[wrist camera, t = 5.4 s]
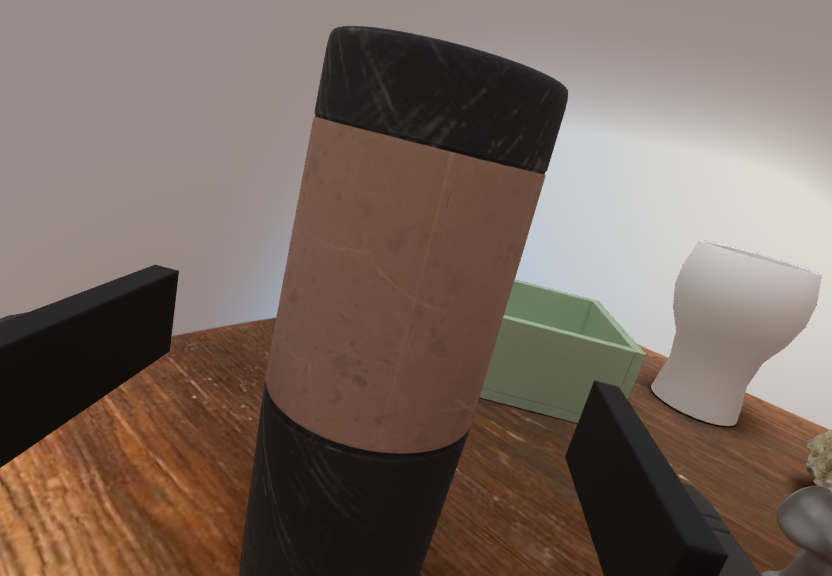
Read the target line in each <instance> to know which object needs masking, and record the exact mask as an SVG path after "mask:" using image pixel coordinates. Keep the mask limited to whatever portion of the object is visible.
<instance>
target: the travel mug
mask: <svg viewBox="0 0 832 576" xmlns="http://www.w3.org/2000/svg"><path fill="white" fill-rule="evenodd" d="M567 99H568V90H567V89H566V87H565V86H564V85H563V84H561V83H560V82H559V81H557V80H555V79H554V78H552V77H550V76H548V75H546V74H544V73H542V72H539V71H537V70H535V69H533V68H530V67H528V66H525V65H523V64H520V63H517V62H514V61H512V60H508V59H506V58H503V57H500V56H497V55H494V54H491V53H487V52H484V51H480V50H477V49H474V48H470V47H467V46H463V45H459V44H455V43H452V42H448V41H444V40H440V39H435V38H431V37H426V36H422V35H417V34H412V33H407V32H401V31H395V30H389V29H383V28H375V27H364V26H343V27H338V28H335V29H333V31H332V32H331V34H330V36H329V40H328V44H327V48H326V53H325V58H324V64H323V69H322V74H321V80H320V85H319V91H318V97H317V102H316V107H315V117H314V118H313V123H312V129H311V134H310V139H309V145H308V150H307V156H306V161H305V166H304V172H303V177H302V183H301V188H300V193H299V199H298V204H297V209H296V215H295V221H294V226H293V231H292V236H291V242H290V247H289V253H288V258H287V264H286V269H285V274H284V280H283V285H282V291H281V296H280V301H279V307H278V312H277V317H276V323H275V328H274V333H273V339H272V344H271V350H270V355H269V360H268V366H267V371H266V380H265V384H264V392H263V399H262V406H261V413H260V421H259V428H258V435H257V443H256V450H255V457H254V464H253V472H252V479H251V486H250V493H249V501H248V508H247V515H246V522H245V530H244V538H243V546H242V554H241V564H240V576H419V573H420V571H421V568H422V565H423V562H424V559H425V556H426V553H427V550H428V548H429V545H430V542H431V539H432V536H433V533H434V530H435V527H436V525H437V522H438V519H439V516H440V513H441V510H442V507H443V504H444V502H445V499H446V496H447V493H448V490H449V487H450V484H451V482H452V479H453V476H454V473H455V470H456V467H457V464H458V461H459V459H460V456H461V453H462V450H463V447H464V444H465V441H466V438H467V436H468V433H469V430H470V426H471V423H472V421H473V418H474V414H475V411H476V408H477V404H478V401H479V397H480V394H481V391H482V387H483V384H484V381H485V377H486V374H487V371H488V367H489V364H490V360H491V357H492V354H493V350H494V347H495V344H496V340H497V337H498V334H499V330H500V327H501V323H502V320H503V317H504V313H505V310H506V307H507V303H508V300H509V297H510V293H511V290H512V287H513V283H514V280H515V276H516V273H517V270H518V266H519V263H520V260H521V256H522V253H523V249H524V246H525V243H526V239H527V236H528V232H529V229H530V226H531V222H532V219H533V216H534V213H535V209H536V206H537V202H538V199H539V196H540V192H541V189H542V186H543V182H544V179H545V172H546V171H547V169H548V166H549V162H550V159H551V155H552V152H553V149H554V145H555V142H556V139H557V135H558V132H559V129H560V125H561V122H562V119H563V115H564V112H565V108H566V104H567Z"/></svg>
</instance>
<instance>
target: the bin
mask: <svg viewBox="0 0 832 576" xmlns="http://www.w3.org/2000/svg"><path fill="white" fill-rule="evenodd" d="M645 356H646V354H645V353H644V352H643V350H642V349H641V348H640V347H639V346H638V345H637V344H636V343H635V341H634V340H633V339H632V338H631V337H630V336H629V335H628V334H627V332H626V331H625V330H624V329H623V328H622V327H621V326H620V325H619V323H617V321H616V320H615V319H614V318H613V317H612V316H611V315H610V313H609V312H608V311H607V310H606V309H605V308H604V307H603V306H602V304H601V303H600V302H599V301H596V300H592V299H588V298H584V297H580V296H577V295H573V294H568V293H565V292H561V291H557V290H553V289H550V288H545V287H541V286H538V285H534V284H530V283H526V282H522V281H519V280H514V283H513V287H512V290H511V293H510V297H509V300H508V303H507V307H506V310H505V313H504V317H503V320H502V323H501V327H500V330H499V334H498V337H497V340H496V344H495V347H494V350H493V354H492V357H491V360H490V364H489V367H488V371H487V374H486V377H485V381H484V384H483V387H482V391H481V394H480V398H483V399H487V400H491V401H495V402H499V403H503V404H506V405H510V406H514V407H518V408H522V409H525V410H529V411H533V412H537V413H541V414H544V415H548V416H552V417H556V418H560V419H563V420H567V421H571V422H575V423H578V422H579V419H580V416H581V414H582V411H583V408H584V406H585V403H586V400H587V398H588V395H589V393H590V390H591V387H592V385H593V382H594V380H595V381H599V382H603V383H607V384H610V385H614V386H618V387H619V388H620V389H621V391H622V392H623V394H624V395H625V397H626V398H627V400H628V398H629V396H630V393H631V391H632V388H633V386H634V384H635V381H636V379H637V376H638V374H639V371H640V369H641V366H642V364H643V361H644V359H645Z"/></svg>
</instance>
